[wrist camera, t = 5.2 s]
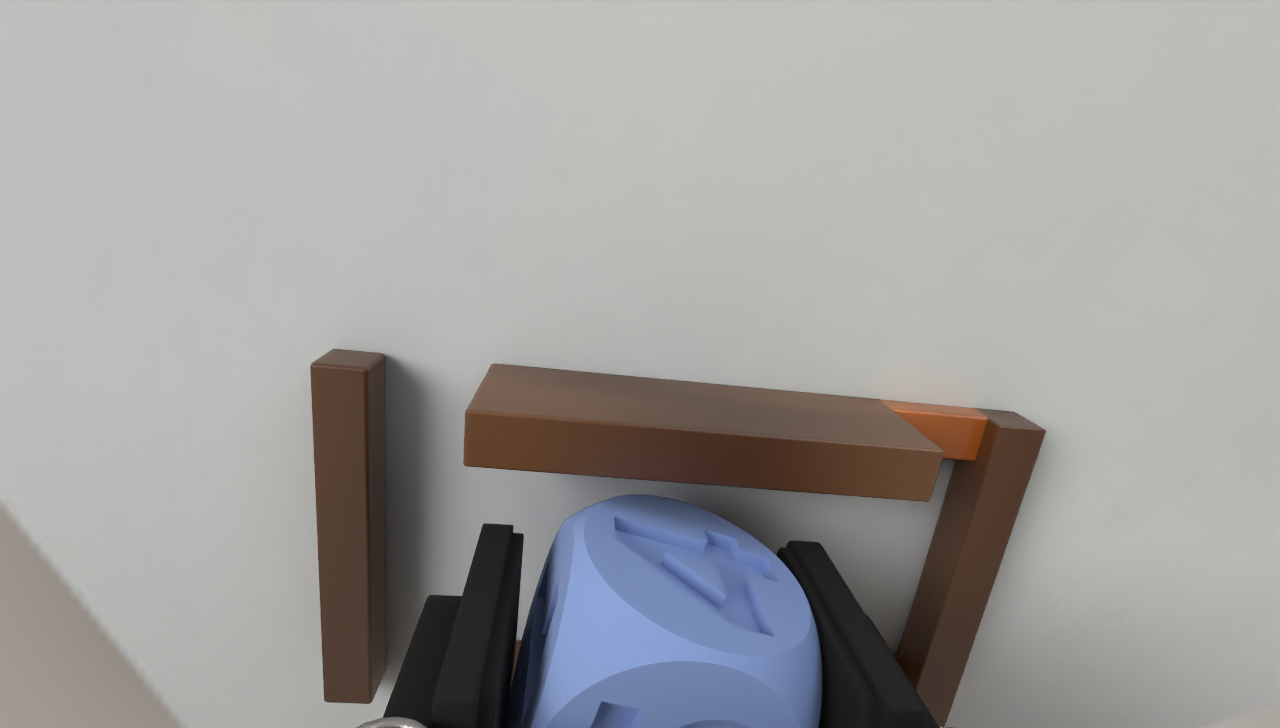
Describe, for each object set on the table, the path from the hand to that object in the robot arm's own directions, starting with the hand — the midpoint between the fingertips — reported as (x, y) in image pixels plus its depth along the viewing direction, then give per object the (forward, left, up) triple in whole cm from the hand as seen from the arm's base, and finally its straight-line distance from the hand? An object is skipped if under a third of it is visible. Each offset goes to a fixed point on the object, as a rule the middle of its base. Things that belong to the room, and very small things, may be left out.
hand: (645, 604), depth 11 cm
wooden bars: (+1, 0, -2) cm, 2 cm away
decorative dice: (0, 0, -1) cm, 1 cm away
